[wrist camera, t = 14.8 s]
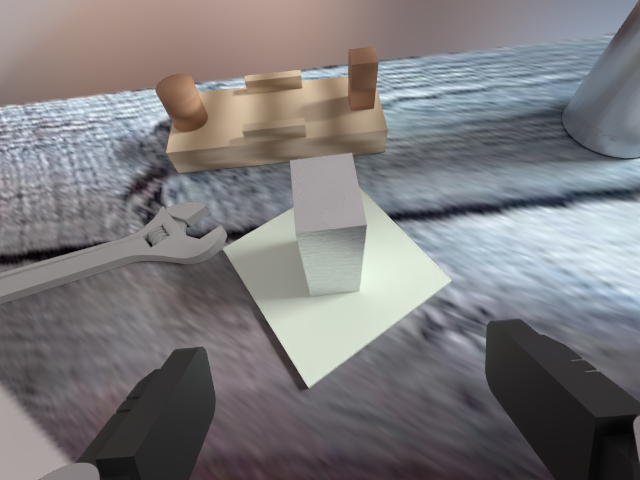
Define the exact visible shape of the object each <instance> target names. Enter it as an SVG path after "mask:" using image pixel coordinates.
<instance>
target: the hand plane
mask: <svg viewBox="0 0 640 480" xmlns="http://www.w3.org/2000/svg"><path fill="white" fill-rule="evenodd" d="M377 72H378V59H377V55H376V52H375V48H374V47H369V48H359V49H350V50H349V63H348V77H339V78H330V79H320V80H311V81H302V79H301V71H300V70H296V71H286V72H277V73H267V74H258V75H248V76H245V84H246V87H245V88H235V89H226V90H217V91H207V92H198V91H197V89H196V86H195V84H194V82H193V79H192V78H191V77H190V76H187V75H183V74H177V75H172V76H169V77H166V78H165V79H163V80H161V82H159V84H158V85H157V86H156V93H157V95H158V97H159V99H160V100H161V102H162V104H163V106H164V108H165V110H166V111H167V113H168V115H169V117H170V119H171V120H172V126H171V131H170V135H169V140H168V145H167V150H166V154H167V156H168V157H169V159H170V160H171V162H172V163H173V165H174V167H175V168H176V170H177V171H178V173H187V172H196V171H206V170H216V169H226V168H235V167H245V166H255V165H265V164H274V163H284V162H290V160H297V159H305V158H313V157H322V156H330V155H338V154H346V153H352V155H362V154H372V153H382V152H385V145H386V138H387V131H388V130H387V126H386V122H385V118H384V114H383V110H382V106H381V103H380V99H379V95H378V91H377V87H376V83H377Z"/></svg>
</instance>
